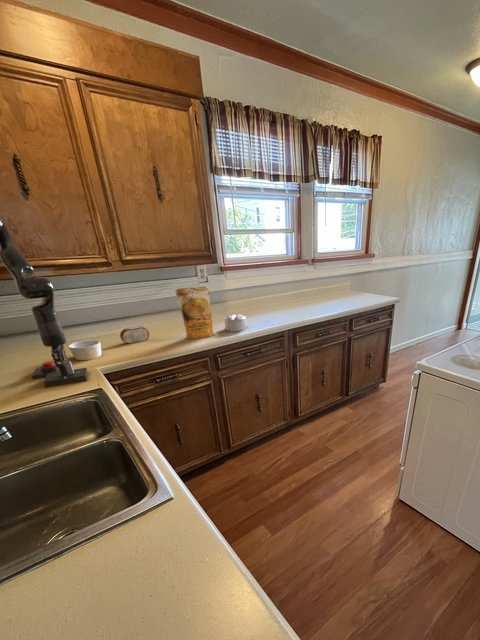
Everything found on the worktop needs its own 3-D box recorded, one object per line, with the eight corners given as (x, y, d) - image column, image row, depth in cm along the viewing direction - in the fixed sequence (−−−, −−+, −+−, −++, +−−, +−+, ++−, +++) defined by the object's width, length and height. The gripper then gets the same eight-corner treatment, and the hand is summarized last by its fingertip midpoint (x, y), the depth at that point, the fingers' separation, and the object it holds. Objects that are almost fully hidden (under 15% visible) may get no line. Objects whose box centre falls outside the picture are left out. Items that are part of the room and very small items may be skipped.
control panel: (46, 388, 129) (43, 381, 127) (50, 379, 136) (47, 372, 135) (87, 382, 134) (85, 374, 133) (88, 373, 142) (86, 367, 141)
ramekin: (69, 357, 161) (64, 344, 158) (97, 351, 170) (93, 338, 167) (78, 364, 153) (74, 349, 150) (108, 356, 162) (104, 343, 159)
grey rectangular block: (58, 376, 132) (53, 364, 130) (58, 374, 134) (54, 362, 131) (73, 373, 134) (69, 361, 132) (74, 372, 136) (70, 360, 134)
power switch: (33, 380, 136) (30, 371, 134) (37, 373, 143) (34, 364, 141) (67, 375, 141) (64, 366, 139) (69, 368, 148) (66, 360, 146)
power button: (43, 368, 138) (42, 364, 137) (45, 365, 141) (43, 362, 140) (53, 367, 140) (52, 363, 139) (55, 364, 143) (53, 360, 142)
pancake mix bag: (182, 337, 192) (173, 288, 179) (213, 333, 201) (207, 285, 188) (185, 340, 187) (176, 289, 174) (217, 335, 196) (211, 287, 183)
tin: (149, 338, 190) (146, 324, 186) (151, 340, 188) (148, 325, 184) (122, 344, 181) (118, 329, 177) (124, 345, 179) (120, 330, 175)
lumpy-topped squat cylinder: (224, 328, 211) (222, 315, 207) (243, 326, 217) (242, 312, 213) (229, 332, 203) (228, 318, 199) (249, 329, 209) (248, 315, 205)
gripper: (60, 335, 122) (75, 377, 130) (64, 327, 133) (77, 366, 141) (36, 338, 119) (52, 380, 127) (42, 329, 130) (57, 369, 138)
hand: (65, 372), depth 134 cm, fingers open, 5 cm apart
